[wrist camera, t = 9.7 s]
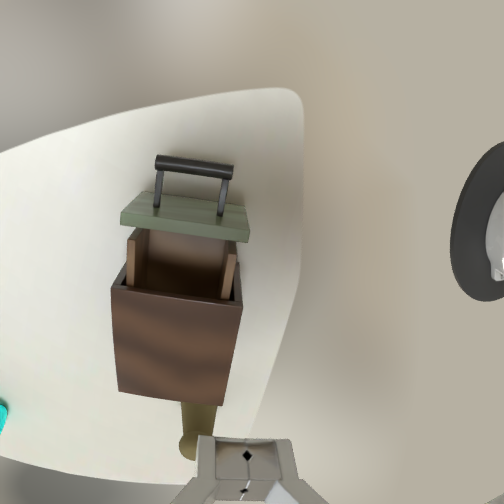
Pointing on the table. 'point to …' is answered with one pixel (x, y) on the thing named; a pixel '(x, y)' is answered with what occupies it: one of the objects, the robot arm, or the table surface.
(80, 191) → the table surface
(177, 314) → the cabinet
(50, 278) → the table surface
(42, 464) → the table surface
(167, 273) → the drawer
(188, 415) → the cork
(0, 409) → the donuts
